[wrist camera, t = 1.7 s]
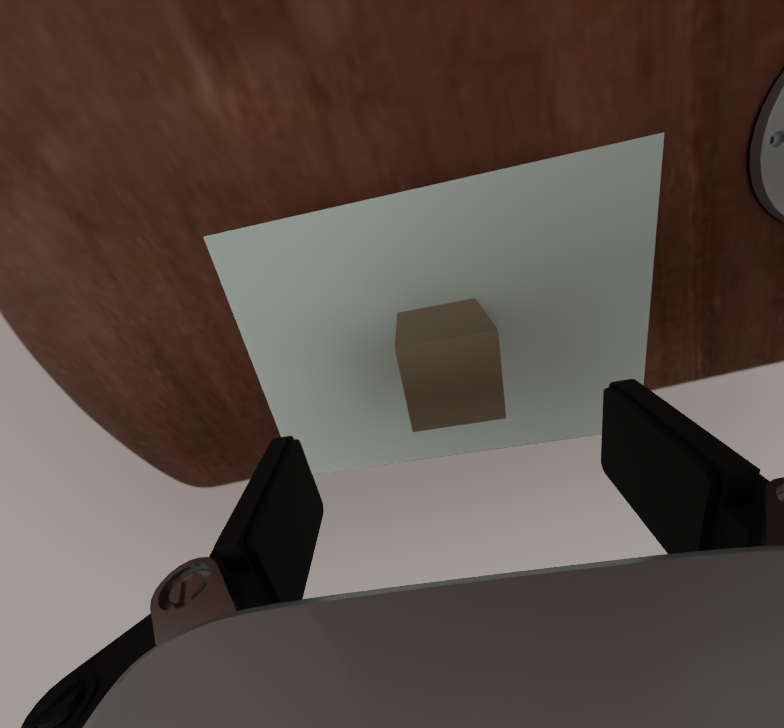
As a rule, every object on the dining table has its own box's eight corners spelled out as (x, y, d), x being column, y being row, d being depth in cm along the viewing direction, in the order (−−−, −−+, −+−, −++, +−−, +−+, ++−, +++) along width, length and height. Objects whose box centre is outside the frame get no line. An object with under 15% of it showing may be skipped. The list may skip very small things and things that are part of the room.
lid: (652, 135, 16) (777, 100, 11) (631, 421, 22) (705, 491, 16) (211, 235, 18) (131, 248, 13) (300, 468, 24) (270, 543, 19)
